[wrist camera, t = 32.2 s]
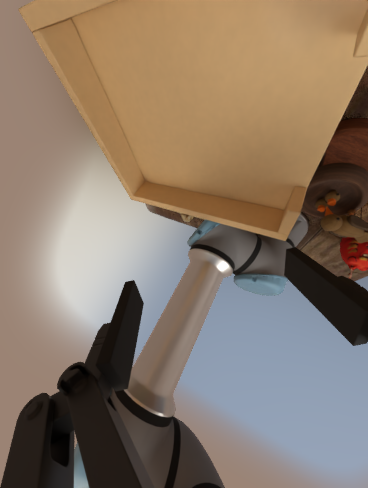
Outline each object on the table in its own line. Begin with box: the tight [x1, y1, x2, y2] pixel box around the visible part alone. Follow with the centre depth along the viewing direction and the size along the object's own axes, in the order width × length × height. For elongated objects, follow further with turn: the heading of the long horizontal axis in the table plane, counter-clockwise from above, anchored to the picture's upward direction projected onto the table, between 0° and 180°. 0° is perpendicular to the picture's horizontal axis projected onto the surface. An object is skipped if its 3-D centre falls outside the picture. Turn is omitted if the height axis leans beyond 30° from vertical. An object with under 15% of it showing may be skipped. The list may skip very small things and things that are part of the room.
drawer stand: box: [19, 0, 368, 241], centre depth 17 cm, size 14×18×30 cm
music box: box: [301, 118, 368, 243], centre depth 29 cm, size 15×11×20 cm
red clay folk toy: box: [340, 230, 368, 279], centre depth 41 cm, size 8×7×15 cm
